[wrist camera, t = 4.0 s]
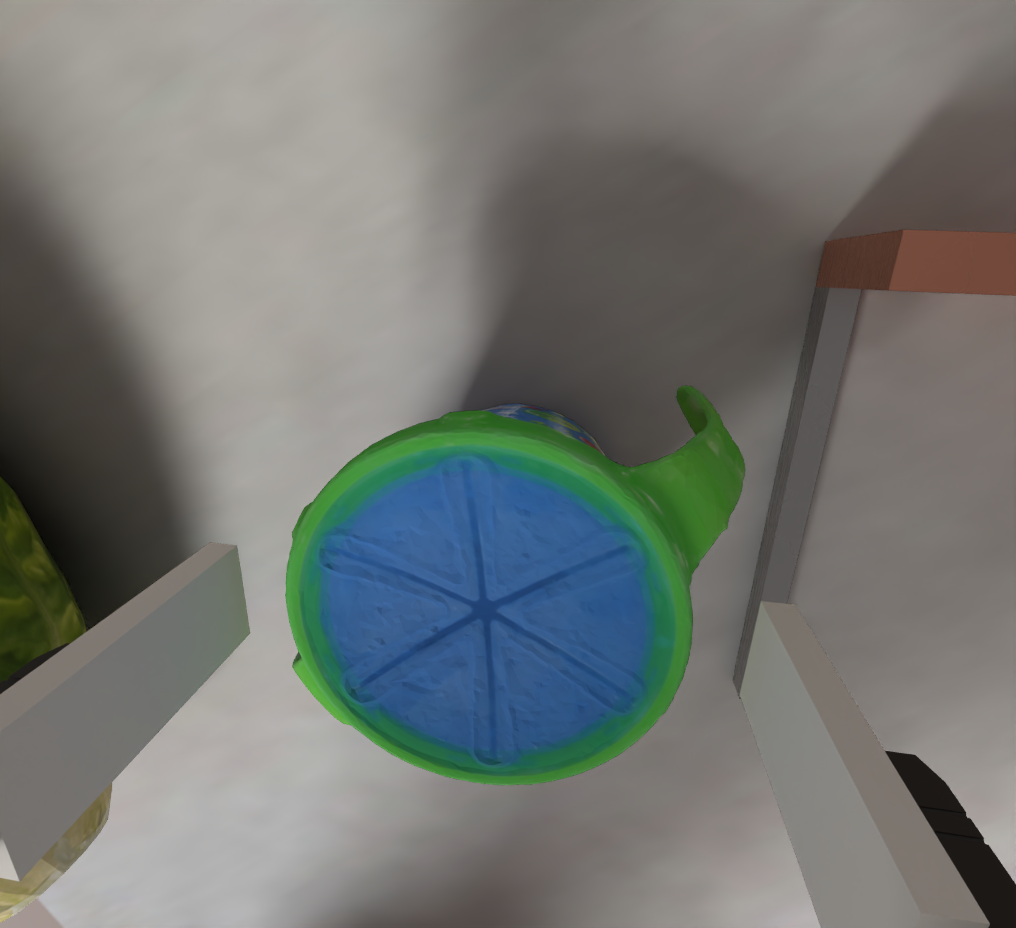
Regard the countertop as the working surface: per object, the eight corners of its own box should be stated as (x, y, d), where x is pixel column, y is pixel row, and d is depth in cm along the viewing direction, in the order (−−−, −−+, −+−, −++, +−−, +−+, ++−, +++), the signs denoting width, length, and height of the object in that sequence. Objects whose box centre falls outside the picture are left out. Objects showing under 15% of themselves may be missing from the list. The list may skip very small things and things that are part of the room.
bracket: (732, 679, 25) (766, 772, 20) (825, 241, 19) (903, 229, 14) (1074, 721, 23) (1196, 832, 19) (1295, 256, 17) (1559, 248, 13)
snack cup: (645, 280, 20) (698, 283, 11) (750, 520, 22) (870, 700, 13) (311, 454, 24) (132, 569, 15) (430, 641, 27) (342, 846, 17)
